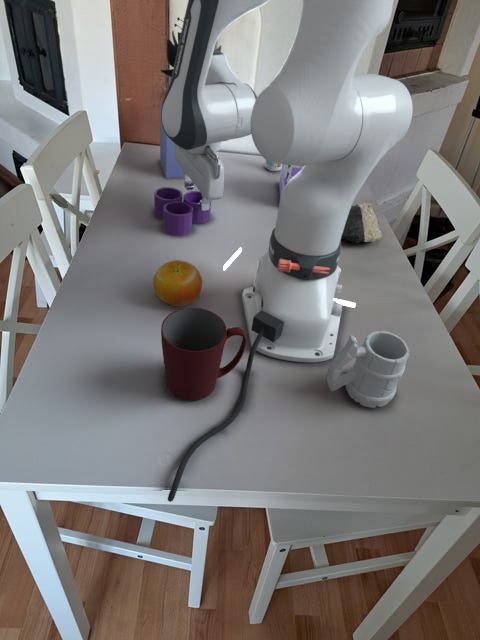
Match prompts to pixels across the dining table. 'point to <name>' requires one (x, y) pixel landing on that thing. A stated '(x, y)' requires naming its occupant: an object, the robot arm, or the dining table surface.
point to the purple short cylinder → (197, 207)
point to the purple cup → (165, 199)
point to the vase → (166, 144)
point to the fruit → (177, 283)
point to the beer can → (272, 166)
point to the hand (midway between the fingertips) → (196, 198)
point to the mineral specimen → (362, 224)
